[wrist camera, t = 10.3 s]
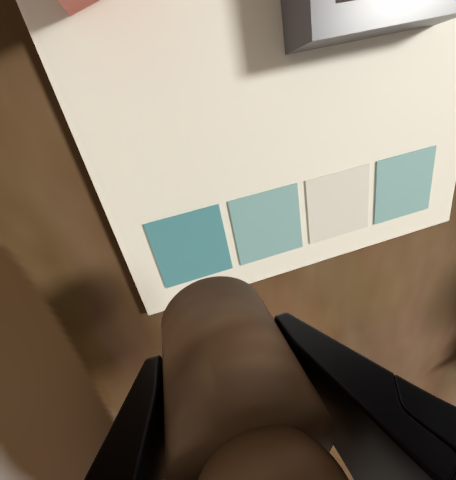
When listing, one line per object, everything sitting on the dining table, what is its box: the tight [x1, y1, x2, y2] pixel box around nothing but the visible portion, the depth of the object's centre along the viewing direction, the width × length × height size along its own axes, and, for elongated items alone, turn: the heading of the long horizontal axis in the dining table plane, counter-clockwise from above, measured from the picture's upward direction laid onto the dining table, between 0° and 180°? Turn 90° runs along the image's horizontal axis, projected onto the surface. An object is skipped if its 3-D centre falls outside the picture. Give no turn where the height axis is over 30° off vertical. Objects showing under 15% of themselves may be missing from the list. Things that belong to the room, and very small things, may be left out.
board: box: [16, 0, 456, 315], centre depth 14 cm, size 21×19×1 cm
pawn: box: [161, 276, 349, 480], centre depth 6 cm, size 4×4×7 cm
